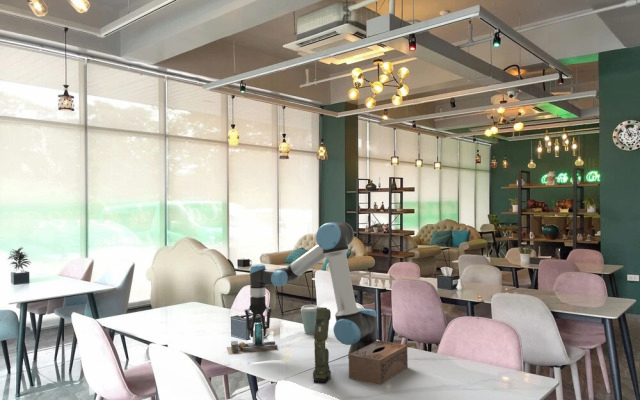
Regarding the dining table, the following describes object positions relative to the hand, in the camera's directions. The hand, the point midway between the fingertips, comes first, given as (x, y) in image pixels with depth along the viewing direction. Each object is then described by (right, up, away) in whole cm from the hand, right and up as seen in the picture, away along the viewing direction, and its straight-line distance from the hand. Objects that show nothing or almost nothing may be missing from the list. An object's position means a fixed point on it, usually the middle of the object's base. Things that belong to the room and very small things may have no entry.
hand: (258, 343), depth 242 cm
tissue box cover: (+56, -3, -34) cm, 66 cm away
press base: (-3, -4, -1) cm, 5 cm away
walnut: (-8, -3, -2) cm, 8 cm away
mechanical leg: (+32, -3, -40) cm, 51 cm away
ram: (-1, -1, 0) cm, 2 cm away
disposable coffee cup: (+25, -4, +34) cm, 42 cm away
